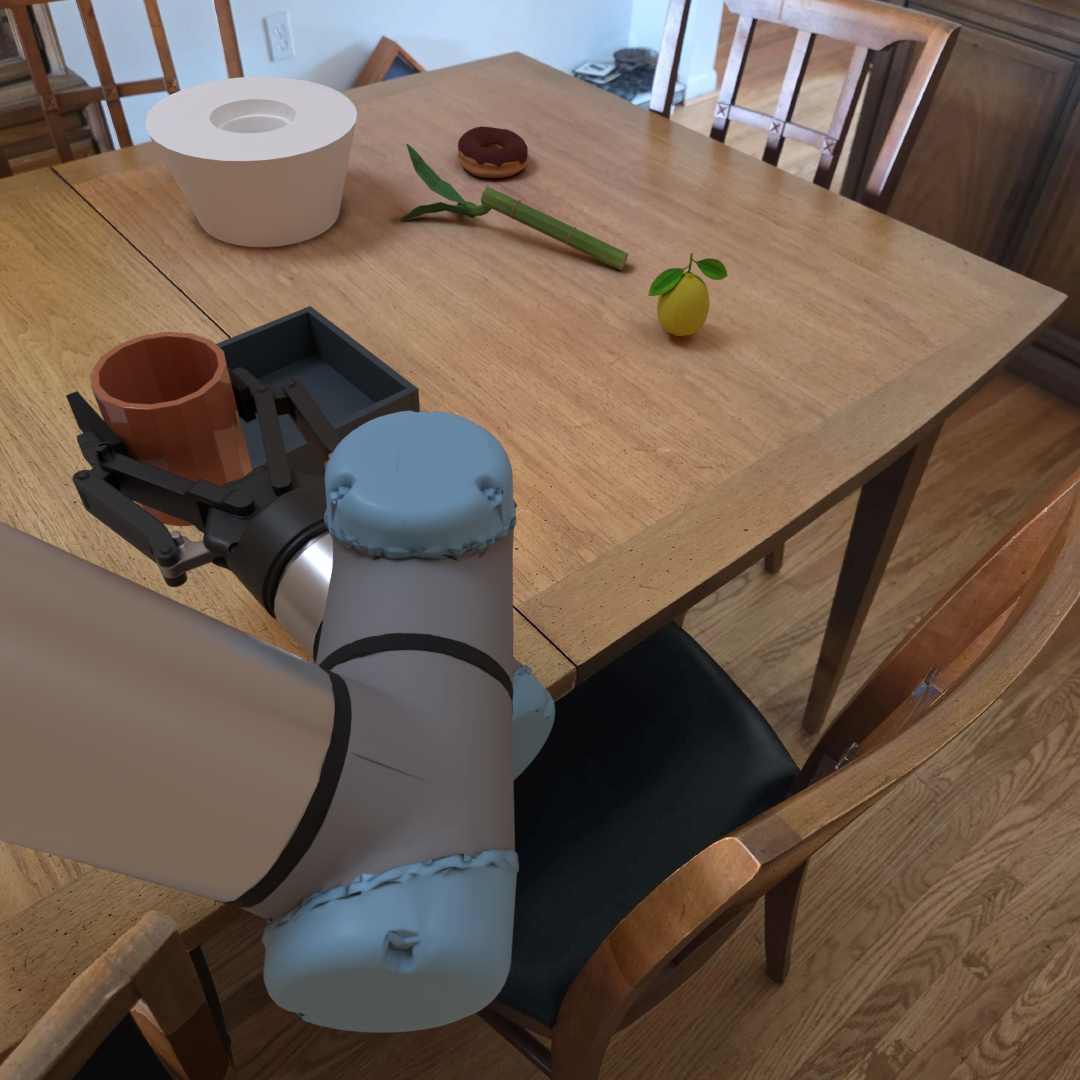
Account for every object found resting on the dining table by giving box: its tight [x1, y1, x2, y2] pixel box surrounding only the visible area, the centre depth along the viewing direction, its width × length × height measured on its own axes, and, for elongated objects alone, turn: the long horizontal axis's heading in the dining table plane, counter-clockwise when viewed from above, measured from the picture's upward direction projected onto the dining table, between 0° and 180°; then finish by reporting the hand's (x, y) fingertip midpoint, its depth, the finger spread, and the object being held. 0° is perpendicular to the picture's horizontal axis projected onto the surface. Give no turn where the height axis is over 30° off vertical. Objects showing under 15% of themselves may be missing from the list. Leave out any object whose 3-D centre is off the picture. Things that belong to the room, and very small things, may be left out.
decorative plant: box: [399, 143, 629, 271], centre depth 113 cm, size 6×8×30 cm
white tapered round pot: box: [144, 76, 358, 248], centre depth 113 cm, size 24×24×12 cm
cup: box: [90, 331, 253, 527], centre depth 61 cm, size 8×8×10 cm
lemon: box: [647, 252, 729, 337], centre depth 98 cm, size 7×6×10 cm
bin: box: [215, 305, 421, 476], centre depth 86 cm, size 18×18×6 cm
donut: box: [457, 126, 530, 179], centre depth 127 cm, size 10×10×4 cm
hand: (141, 384), depth 63 cm, fingers closed on cup, 8 cm apart
